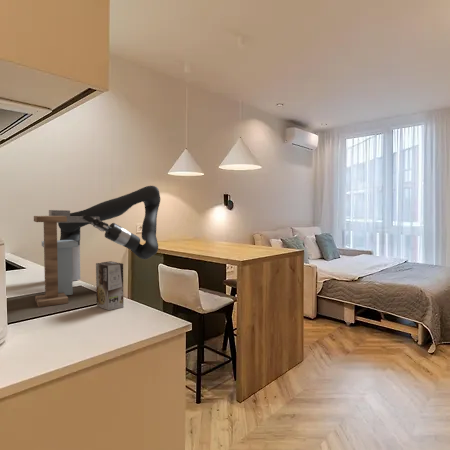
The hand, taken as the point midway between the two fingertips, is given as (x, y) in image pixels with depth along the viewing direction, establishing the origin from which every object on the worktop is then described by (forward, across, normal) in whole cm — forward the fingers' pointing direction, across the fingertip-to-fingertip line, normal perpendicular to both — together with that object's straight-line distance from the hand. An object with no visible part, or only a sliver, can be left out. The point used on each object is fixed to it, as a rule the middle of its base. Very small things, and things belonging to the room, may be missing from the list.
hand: (83, 216), depth 150 cm
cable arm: (+2, 0, +4) cm, 4 cm away
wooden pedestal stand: (-3, +12, +35) cm, 38 cm away
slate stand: (-8, 0, +33) cm, 34 cm away
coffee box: (-18, +30, +27) cm, 45 cm away
